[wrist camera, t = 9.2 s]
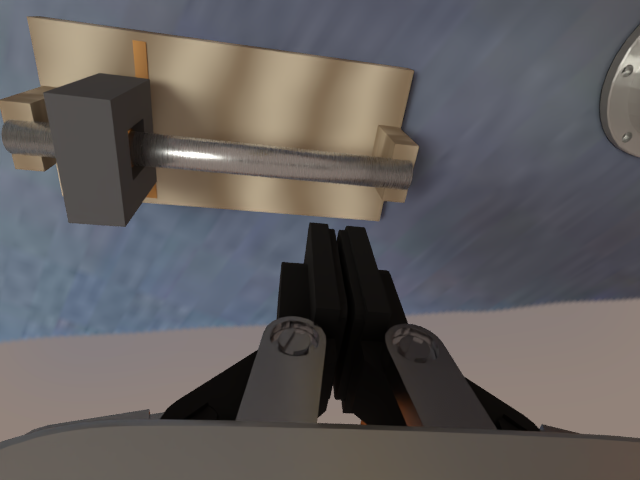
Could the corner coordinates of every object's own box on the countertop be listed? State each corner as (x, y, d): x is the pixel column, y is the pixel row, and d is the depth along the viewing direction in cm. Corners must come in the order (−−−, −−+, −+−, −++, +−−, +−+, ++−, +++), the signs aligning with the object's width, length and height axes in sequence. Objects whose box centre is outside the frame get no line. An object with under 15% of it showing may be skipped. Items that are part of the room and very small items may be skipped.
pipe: (406, 153, 27) (416, 164, 25) (398, 184, 28) (407, 197, 26) (19, 112, 23) (-5, 121, 21) (28, 149, 24) (6, 161, 22)
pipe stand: (407, 68, 29) (439, 81, 24) (375, 213, 35) (394, 251, 30) (39, 16, 26) (-27, 17, 20) (71, 188, 31) (26, 226, 26)
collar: (149, 79, 25) (110, 100, 19) (156, 181, 29) (125, 226, 23) (99, 72, 25) (43, 92, 19) (112, 177, 28) (68, 222, 22)
